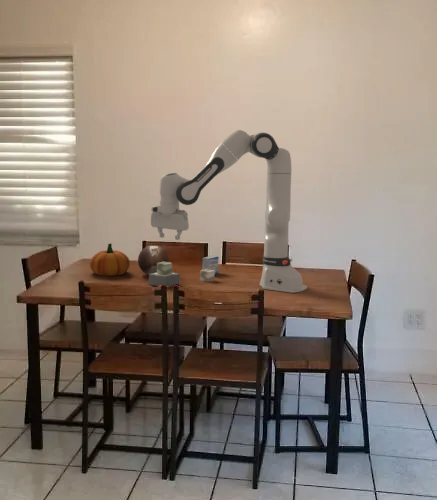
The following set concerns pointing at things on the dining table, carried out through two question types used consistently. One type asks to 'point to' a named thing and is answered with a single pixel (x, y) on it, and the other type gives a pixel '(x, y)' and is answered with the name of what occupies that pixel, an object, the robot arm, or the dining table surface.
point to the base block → (163, 279)
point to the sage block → (164, 268)
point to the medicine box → (211, 263)
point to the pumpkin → (109, 262)
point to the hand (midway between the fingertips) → (169, 238)
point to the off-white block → (207, 275)
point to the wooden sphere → (151, 258)
